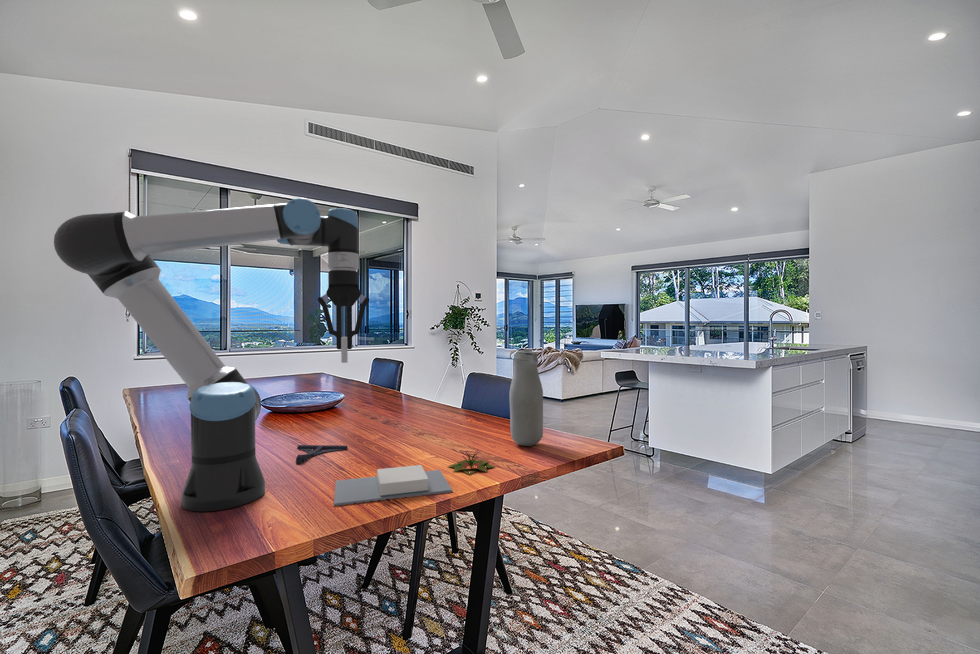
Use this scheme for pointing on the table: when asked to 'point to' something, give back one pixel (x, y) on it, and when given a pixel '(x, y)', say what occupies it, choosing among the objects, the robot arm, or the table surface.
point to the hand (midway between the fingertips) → (344, 362)
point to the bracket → (317, 451)
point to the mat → (369, 489)
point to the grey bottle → (526, 400)
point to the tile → (402, 480)
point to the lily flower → (471, 464)
